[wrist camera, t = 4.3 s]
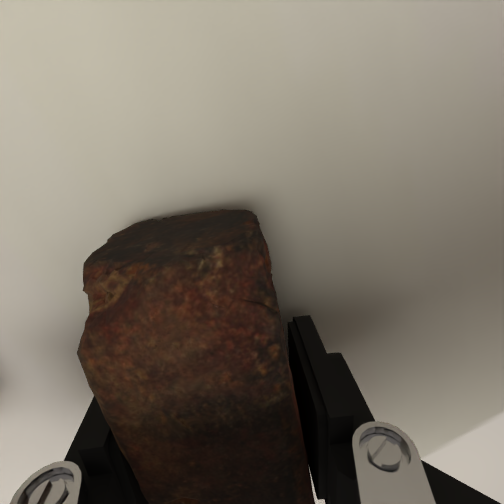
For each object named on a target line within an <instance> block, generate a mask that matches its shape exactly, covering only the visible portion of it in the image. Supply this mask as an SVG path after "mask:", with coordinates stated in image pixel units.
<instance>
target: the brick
mask: <svg viewBox="0 0 504 504" xmlns="http://www.w3.org/2000/svg"><path fill="white" fill-rule="evenodd" d="M259 224H260V223H259V222H258V219H257V216H256V215H255V214H254V213H252V212H250V211H247V210H219V211H209V212H202V213H195V214H189V215H182V216H173V217H170V218H163V219H162V220H161V221H157V220H153V219H151V220H147V221H143V222H139V223H135V224H133V225H132V226H130V227H128V228H126V229H124V230H122V231H120V232H117V233H115V234H113V235H112V236H111V237H110V238H109V239H107V243H106V244H105V245H103V246H102V247H100V248H99V249H97V250H96V251H94V252H93V253H92V254H91V255H90V256H89V257H88V259H87V260H86V261H85V263H84V268H83V283H84V288H83V291H84V292H85V293H87V294H88V300H89V316H88V318H87V320H86V322H85V329H84V332H83V335H82V337H81V341H80V344H79V347H78V351H77V354H78V357H79V360H80V362H81V365H82V368H83V370H84V373H85V375H86V378H87V381H88V384H89V386H90V388H91V390H92V392H93V394H94V396H95V398H96V399H97V401H98V403H99V406H100V408H101V410H102V413H103V415H104V417H105V420H106V421H107V423H108V425H109V426H110V428H111V430H112V433H113V435H114V437H115V440H116V442H117V444H118V446H119V448H120V450H121V452H122V453H123V455H124V457H125V458H126V460H127V461H128V463H129V465H130V466H131V468H132V470H133V473H134V475H135V477H136V479H137V481H138V483H139V486H140V489H141V491H142V493H143V495H144V497H145V498H146V500H147V501H148V503H149V504H315V502H314V497H313V491H312V484H311V478H310V472H309V465H308V455H307V452H306V448H305V445H304V439H303V433H302V427H301V422H300V418H299V410H298V406H297V401H296V396H295V391H294V385H293V378H292V373H291V370H290V366H289V362H288V355H287V348H286V342H285V338H284V330H283V326H282V321H281V317H280V312H279V308H278V304H277V297H276V292H275V289H274V285H273V282H272V274H271V260H270V256H269V251H268V246H267V243H266V241H265V239H264V237H263V235H262V232H261V230H260V227H259Z"/></svg>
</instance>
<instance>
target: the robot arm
mask: <svg viewBox="0 0 504 504" xmlns="http://www.w3.org/2000/svg"><path fill="white" fill-rule="evenodd" d="M288 348H289V366H290V370H291V373H292V378H293V385H294V391H295V396H296V401H297V406H298V410H299V418H300V422H301V427H302V433H303V439H304V445H305V448H306V452H307V455H308V464H309V468H310V472H311V476H312V480H313V484H314V488H315V492H316V496H317V499H318V500H319V499H325V503H326V504H500V503H499V502H497V501H495V500H493V499H491V498H490V497H488V496H486V495H484V494H482V493H480V492H479V491H477V490H475V489H473V488H471V487H469V486H467V485H466V484H464V483H462V482H460V481H458V480H456V479H455V478H453V477H451V476H449V475H448V474H446V473H444V472H442V471H440V470H438V469H437V468H435V467H433V466H431V465H429V464H428V463H426V462H424V461H422V460H421V459H420V456H419V453H418V450H417V448H416V446H415V444H414V443H413V441H412V440H411V439H410V438H409V436H408V435H407V434H406V433H405V432H403V431H402V430H400V429H399V428H398V427H396V426H393V425H391V424H389V423H385V422H379V421H375V420H374V418H373V416H372V414H371V412H370V410H369V408H368V406H367V404H366V402H365V400H364V398H363V396H362V394H361V392H360V390H359V388H358V386H357V384H356V382H355V380H354V378H353V376H352V374H351V372H350V370H349V368H348V366H347V364H346V362H345V360H344V358H343V356H342V354H341V353H339V352H338V353H329V354H327V353H326V351H325V348H324V346H323V344H322V341H321V339H320V337H319V335H318V332H317V330H316V328H315V325H314V323H313V321H312V319H311V317H310V315H307V316H298V317H293V322H288ZM10 504H149V503H148V501H147V500H146V498H145V497H144V495H143V493H142V491H141V489H140V486H139V483H138V481H137V479H136V477H135V475H134V473H133V470H132V468H131V466H130V465H129V463H128V461H127V460H126V458H125V457H124V455H123V453H122V452H121V450H120V448H119V446H118V444H117V442H116V440H115V437H114V435H113V433H112V430H111V428H110V426H109V425H108V423H107V421H106V420H105V417H104V415H103V413H102V410H101V408H100V406H99V403H98V401H97V399H96V398H95V396H94V398H93V400H92V402H91V404H90V406H89V408H88V410H87V412H86V415H85V417H84V419H83V421H82V423H81V425H80V427H79V429H78V432H77V434H76V436H75V438H74V440H73V442H72V444H71V447H70V449H69V451H68V453H67V455H66V457H65V459H64V461H60V462H54V463H52V464H50V465H47V466H45V467H43V468H41V469H40V470H38V471H37V472H35V473H34V474H32V475H31V476H30V477H29V478H28V479H27V480H26V481H25V482H24V483H23V484H22V485H21V486H20V488H19V489H18V490H17V491H16V493H15V494H14V496H13V498H12V500H11V502H10Z"/></svg>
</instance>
